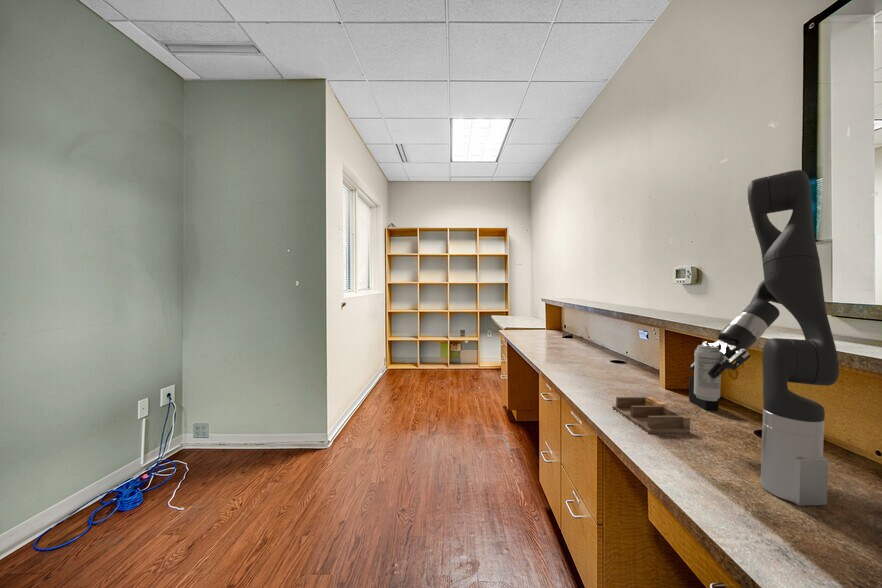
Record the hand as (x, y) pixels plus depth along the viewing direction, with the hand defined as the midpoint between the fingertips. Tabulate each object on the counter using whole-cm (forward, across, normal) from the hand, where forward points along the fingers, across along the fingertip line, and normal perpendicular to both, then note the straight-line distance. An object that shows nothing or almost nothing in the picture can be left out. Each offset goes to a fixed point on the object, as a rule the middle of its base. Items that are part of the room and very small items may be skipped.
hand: (701, 373), depth 99 cm
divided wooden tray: (+18, -15, +10) cm, 25 cm away
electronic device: (-3, -27, +30) cm, 41 cm away
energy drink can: (+4, 0, +6) cm, 8 cm away
